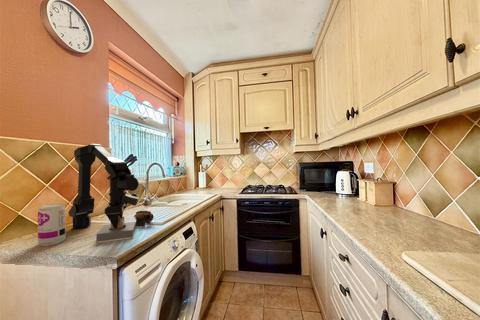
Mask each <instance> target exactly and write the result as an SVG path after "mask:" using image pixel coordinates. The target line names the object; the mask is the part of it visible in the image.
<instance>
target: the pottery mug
mask: <svg viewBox="0 0 480 320" xmlns="http://www.w3.org/2000/svg"><path fill="white" fill-rule="evenodd" d="M154 217H155V216H154V215H153V213H152V212H151V211H149V210H138V211H136V212H135V214H134V216H133V218H134V220H135V222H136V228H137V227H139V228H141V227H143V228H145V227H146V224H147V225H150V224H151V222H152V221H153V219H154Z"/></svg>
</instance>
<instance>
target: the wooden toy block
mask: <svg viewBox="0 0 480 320" xmlns="http://www.w3.org/2000/svg"><path fill="white" fill-rule="evenodd" d="M124 223H125V216H122V217H119V222H118V227H117V228H114V227H113V225H112V223H111V222H110V224H111V230H116V229H124Z"/></svg>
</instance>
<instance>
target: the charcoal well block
mask: <svg viewBox="0 0 480 320" xmlns="http://www.w3.org/2000/svg"><path fill="white" fill-rule="evenodd" d="M136 230H137V227H136V221H129V222H124V229H116V230H111V223H110V224H104V225H103V226H102V227H101V228H100V230H99V231H98V232H97V233H96V235H95V236H96V243H97V244H99V243H106V242H113V241H115V242H116V241H121V240H127V239H128V240H129V239H130V240H131V239H134V236H135V233H136Z"/></svg>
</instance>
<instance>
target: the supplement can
mask: <svg viewBox="0 0 480 320" xmlns="http://www.w3.org/2000/svg"><path fill="white" fill-rule="evenodd" d="M66 238H67V237H66V207H65V205H64V204H63V203H55V204H47V205H42V206H40V207H39V209H38V210H37V240H38V241H37V244H38V245H39V246H41V247H49V245H51V246H55V245H58V244H60V243H63V242H64V241H65V240H66Z"/></svg>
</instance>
